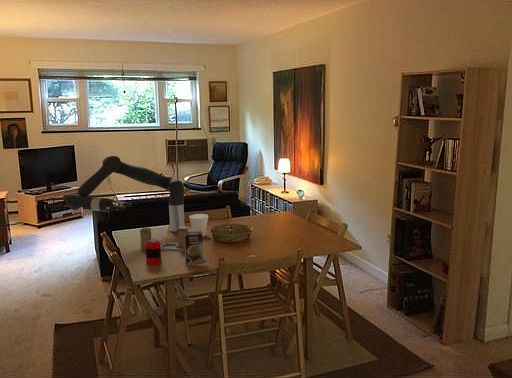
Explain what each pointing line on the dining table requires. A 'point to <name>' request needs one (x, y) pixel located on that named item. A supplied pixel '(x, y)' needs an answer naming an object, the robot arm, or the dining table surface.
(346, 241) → the dining table surface
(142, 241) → the block
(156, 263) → the soda can
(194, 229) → the cup
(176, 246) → the grey slotted tray
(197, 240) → the coffee box
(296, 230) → the dining table surface
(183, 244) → the seated billet
